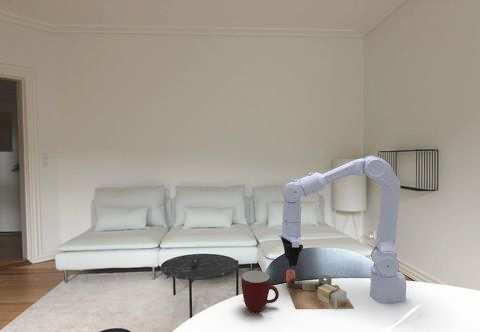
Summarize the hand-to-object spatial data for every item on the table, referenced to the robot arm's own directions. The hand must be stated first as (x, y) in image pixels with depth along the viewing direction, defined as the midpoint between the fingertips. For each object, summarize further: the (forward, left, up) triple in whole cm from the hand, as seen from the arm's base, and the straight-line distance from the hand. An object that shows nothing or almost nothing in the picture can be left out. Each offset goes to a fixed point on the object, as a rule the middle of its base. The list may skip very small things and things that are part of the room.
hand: (290, 261), depth 104 cm
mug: (+11, +12, -10) cm, 19 cm away
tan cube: (-10, +8, -8) cm, 15 cm away
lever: (-6, +1, -8) cm, 10 cm away
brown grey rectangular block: (-12, +11, -9) cm, 19 cm away
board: (-8, +6, -9) cm, 14 cm away
